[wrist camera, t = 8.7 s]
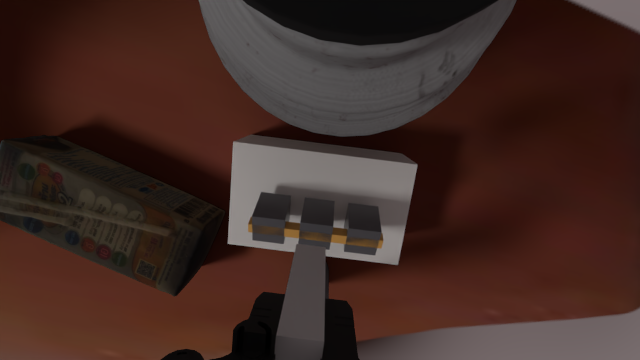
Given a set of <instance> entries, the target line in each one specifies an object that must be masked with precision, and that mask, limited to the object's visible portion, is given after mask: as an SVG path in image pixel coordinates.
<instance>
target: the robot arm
mask: <svg viewBox="0 0 640 360" xmlns="http://www.w3.org/2000/svg"><path fill="white" fill-rule="evenodd" d="M325 259H326V247H320V246H311V245H303V244H296V249H295V253H294V258H293V262H292V267H291V271H290V276H289V280H288V285H287V289H286V294H277V293H269V292H263V293H262V294H261V295H260V296H258V297H257V298H256V300H255V303H254V306H253V309H252V311H251V314H250V317H249V319H248V320H244V321H242V322H241V323H239V324H238V325H237V326H236V327H235V328H234V330H233V342H232V352H231V353H230V354H228V355H226V356H224V357H221V358H217V359H211V360H359V358H358V353H357V345H356V336H355V328H354V320H353V311H352V308H351V307H350V305H349V304H348V302H347V301H343V300H334V299H326V298H325ZM161 360H204V359H203V357H202V355H201V354H200V353H198V352H197V351H195V350H189V349H183V350H177V351H174V352H172V353H170V354H168V355H166V356H165V357H164V358H162V359H161Z"/></svg>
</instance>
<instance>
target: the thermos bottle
mask: <svg viewBox="0 0 640 360" xmlns="http://www.w3.org/2000/svg"><path fill="white" fill-rule="evenodd" d="M199 3H200V9H201V12H202V15H203V18H204V21H205V24H206V27H207V31H208V34H209V37H210V40H211V42H212V44H213V45H214V47H215V49H216V51H217V53H218V55H219V57H220V59H221V61H222V63H223V65H224V66H225V68H226V69H227V71H228V72H229V73H230V74H231V76H232V77H233V78H234V80H235V81H236V82H237V83H238V85H239V86H240V87H241V89H242V90H243V91H244V92H245V93H246V94H247V95H249V96H250V97H251V98H252V99H253V100H254V101H255V102H257V103H258V104H259V105H260V106H261V107H262V108H263V109H264V110H266V111H268V112H269V113H271V114H273V115H275V116H276V117H278V118H280V119H281V120H283V121H285V122H286V123H288V124H291V125H293V126H296V127H299V128H302V129H305V130H308V131H310V132H313V133H318V134H326V135H333V136H340V137H346V136H364V135H372V134H376V133H380V132H383V131H387V130H391V129H395V128H398V127H400V126H402V125H404V124H406V123H408V122H410V121H412V120H415V119H417V118H419V117H421V116H423V115H424V114H425V113H427V112H428V111H430V110H431V109H432V108H434V107H435V106H436V105H438V104H439V103H441V102H442V101H443V100H445V99H446V98H447V97H448V96H449V95H450V94H451V93H452V92H453V91H454V90H455V89H456V88H457V87H458V86H459V85H460V83H461V82H462V81H463V80H464V79H465V78H466V77H467V76H468V75H469V73H470V72H471V70H472V69H473V67H474V66H475V64H476V63H477V61H478V60H479V58H480V57H481V55H482V54H483V52H484V51H485V50H486V48H487V47H488V46H489V45H490V43H491V42H492V40H493V39H494V37H495V36H496V34H497V33H498V31H499V30H500V28H501V27H502V26H503V24H504V23H505V21H506V20H507V18H508V17H509V15H510V14H511V11H512V9H513V7H514V5H515V3H516V0H199Z"/></svg>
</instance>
